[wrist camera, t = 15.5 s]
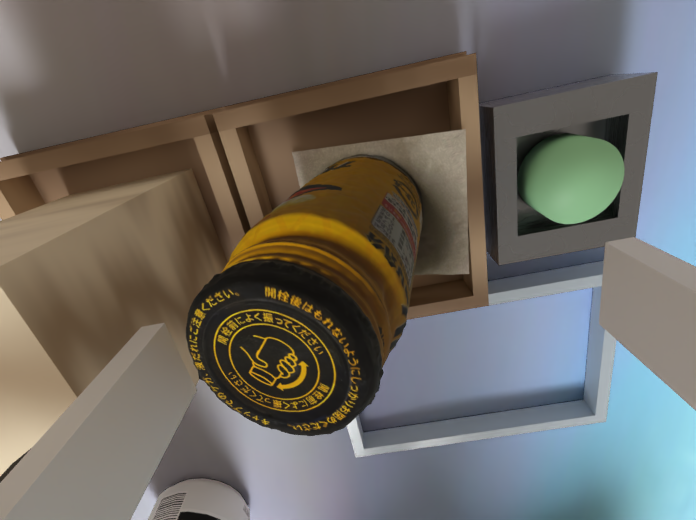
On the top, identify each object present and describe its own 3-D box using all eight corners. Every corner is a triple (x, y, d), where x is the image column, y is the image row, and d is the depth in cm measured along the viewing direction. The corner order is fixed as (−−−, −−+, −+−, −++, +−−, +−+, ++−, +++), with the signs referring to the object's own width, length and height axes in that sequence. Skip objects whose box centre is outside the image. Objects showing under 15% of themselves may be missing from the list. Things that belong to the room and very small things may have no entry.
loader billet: (240, 297, 23) (142, 491, 12) (134, 316, 23) (-54, 519, 12) (191, 168, 19) (-11, 271, 8) (69, 195, 20) (-269, 323, 9)
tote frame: (593, 405, 28) (605, 421, 27) (355, 440, 30) (355, 457, 28) (608, 259, 23) (625, 270, 22) (318, 311, 24) (317, 324, 23)
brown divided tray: (474, 280, 23) (492, 307, 21) (126, 343, 25) (97, 375, 23) (458, 53, 18) (480, 46, 15) (18, 154, 20) (-37, 165, 17)
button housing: (598, 221, 22) (634, 240, 19) (480, 243, 22) (498, 265, 20) (611, 74, 19) (657, 72, 16) (472, 104, 19) (493, 107, 16)
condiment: (293, 151, 19) (106, 249, 9) (465, 128, 17) (496, 224, 6) (320, 275, 22) (206, 458, 12) (469, 271, 20) (493, 496, 9)
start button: (594, 203, 19) (619, 215, 18) (517, 218, 20) (535, 231, 18) (600, 125, 18) (629, 129, 16) (516, 142, 18) (535, 148, 16)
